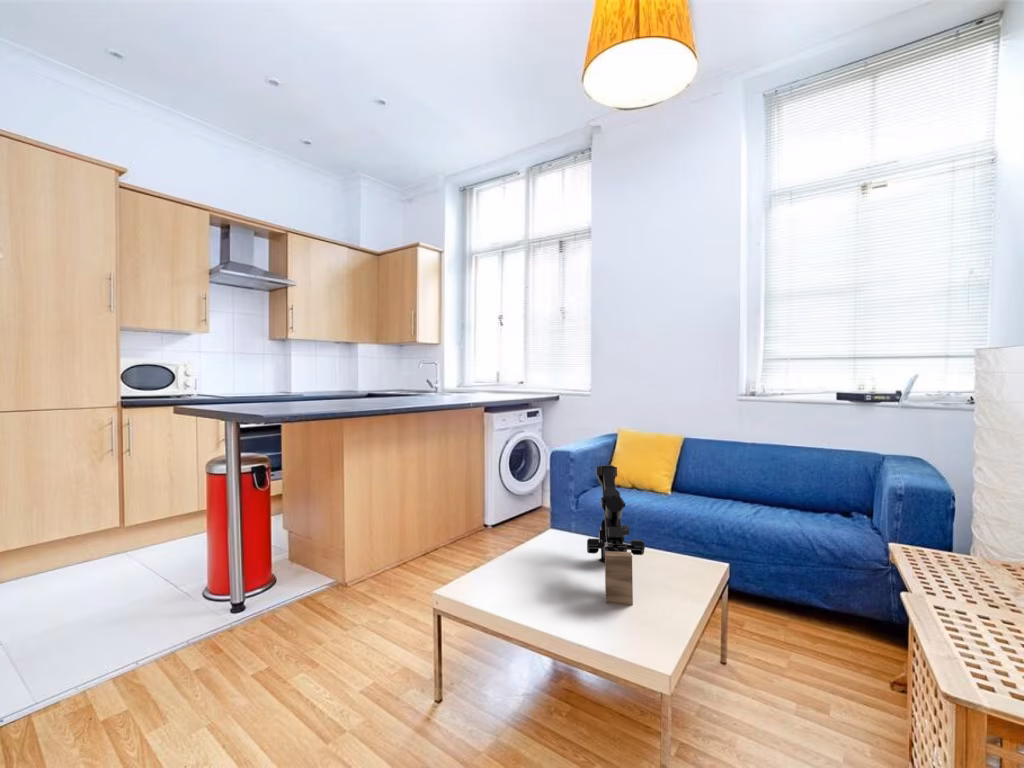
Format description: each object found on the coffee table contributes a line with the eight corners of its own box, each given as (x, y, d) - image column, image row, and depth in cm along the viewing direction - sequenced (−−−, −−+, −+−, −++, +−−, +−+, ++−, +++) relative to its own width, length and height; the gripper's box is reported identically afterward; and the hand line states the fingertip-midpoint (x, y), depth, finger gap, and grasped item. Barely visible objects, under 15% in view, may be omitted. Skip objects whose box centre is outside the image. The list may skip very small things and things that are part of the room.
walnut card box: (605, 598, 141) (604, 551, 141) (631, 599, 140) (630, 552, 140) (606, 603, 137) (605, 555, 137) (632, 605, 136) (632, 556, 136)
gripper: (586, 514, 150) (588, 559, 139) (643, 516, 147) (649, 562, 136) (586, 530, 158) (587, 574, 147) (640, 532, 155) (645, 577, 144)
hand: (617, 571), depth 143 cm, fingers closed
